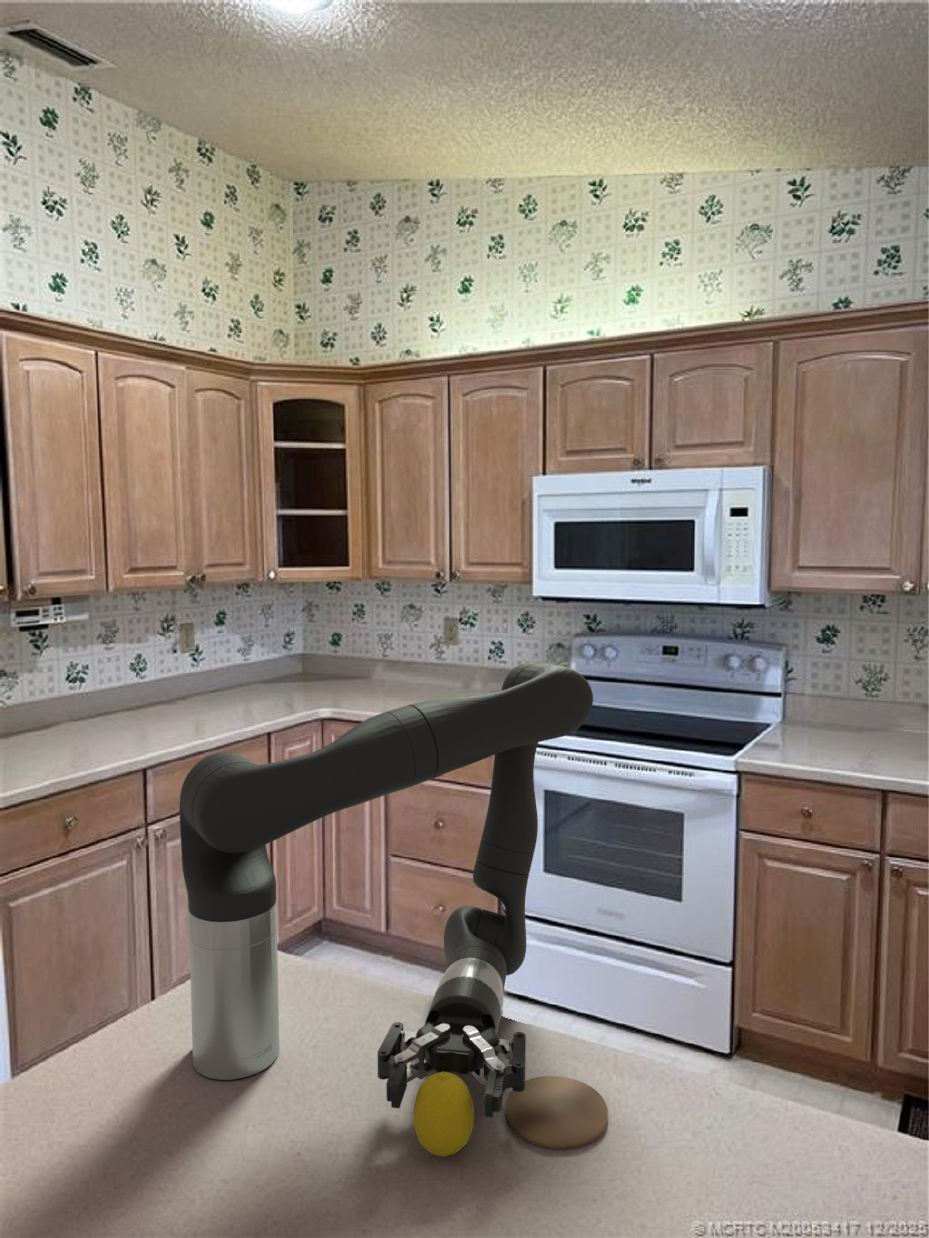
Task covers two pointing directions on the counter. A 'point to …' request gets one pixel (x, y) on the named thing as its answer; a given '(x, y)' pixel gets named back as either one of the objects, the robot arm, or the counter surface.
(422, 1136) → the lemon
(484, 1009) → the robot arm
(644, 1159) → the counter surface
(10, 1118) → the counter surface
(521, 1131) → the walnut board
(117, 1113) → the counter surface
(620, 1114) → the counter surface
